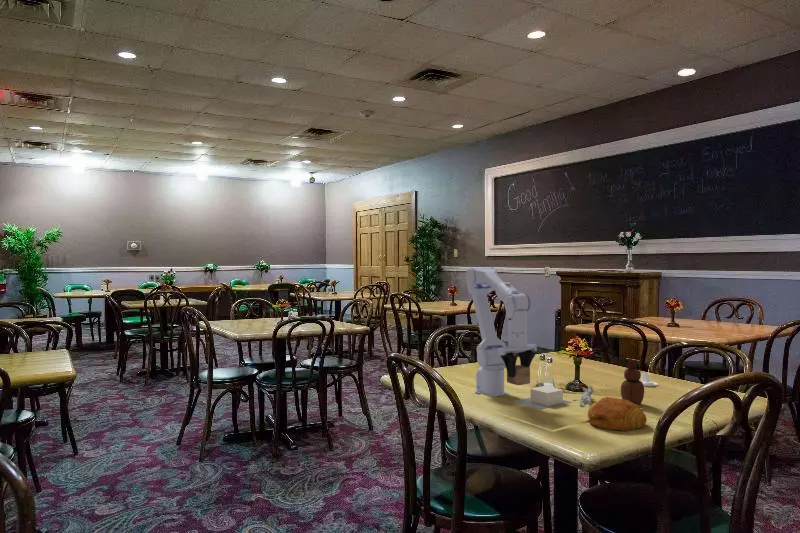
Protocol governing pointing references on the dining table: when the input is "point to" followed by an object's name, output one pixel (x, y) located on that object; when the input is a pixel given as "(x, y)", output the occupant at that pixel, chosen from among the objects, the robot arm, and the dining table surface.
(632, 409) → the croissant
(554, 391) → the cream block
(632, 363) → the wooden figurine
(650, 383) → the teacup and saucer
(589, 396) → the soldier figure
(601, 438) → the dining table surface
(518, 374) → the walnut cube
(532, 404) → the slate board
